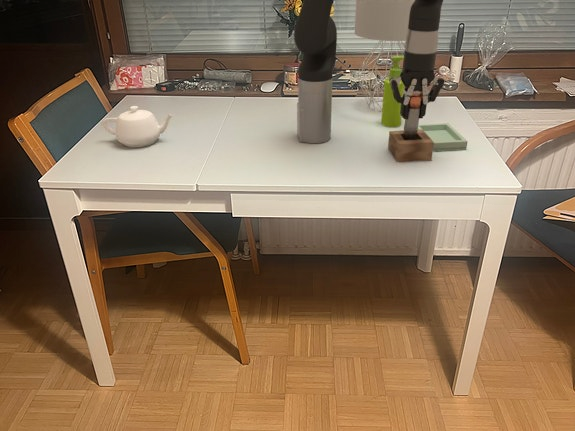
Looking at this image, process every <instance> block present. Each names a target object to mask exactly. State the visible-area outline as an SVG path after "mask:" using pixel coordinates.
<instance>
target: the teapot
mask: <svg viewBox="0 0 575 431" xmlns="http://www.w3.org/2000/svg"><path fill="white" fill-rule="evenodd" d="M129 109H130V110H128V111H124V112H122V113H120V114H119V115H118V116H117V117H108V118H104V119H103V120H102V121H101V126H102V127H103V128H104V130H105V131H107V132H108V133H109V134H111V135H115V138H116V140H117V141H118V142H119V143H121V144H123V145H124V146H126V147H127V148H128V147H129V148H141V147H142V148H143V147H148V146H150V145H152V144H154V143H155V142H156V141H157V140H158V138H159V137H160V135H162V134H163V133H164V132H165V131H166V129H167V128H168V126H169V122H170V119H171V118H172V117H174V114H171V113H169V114H167V115H166V117H165V118H164V122H163V123H162V124H161V125H159V122H158V120H157V118H156V116H155V115H154V114H153V113H152V112H151V111H149V110H147V109H146V110H145V109H139V106H137V105H132V106H130V108H129ZM108 122H109V123H110V122H115V129H113V128H111V127H110V126H109V125H108Z"/></svg>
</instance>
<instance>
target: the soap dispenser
mask: <svg viewBox="0 0 575 431" xmlns="http://www.w3.org/2000/svg"><path fill="white" fill-rule="evenodd" d="M392 60H393V63H392V64H393V65H392V66H390V67H389V72H390V73H389V72H388V73H389V74H388V77H389V78H388V77H387V78H388V79H385V78H384V79H385V80H384V82H383V83H384V84H383V88H384V89H383V94H382V105H381V106H382V107H381V108H382V110H381V111H382V112H381V120H380V123H381V125H382V126H384V127H387V128H396V127H399V126H401V125H402V119H403V117H402V116H401V115H400V109H401V103H398V102H397V101H396V100H395V99H394V96H393V92H392V89H391V86H390V82H389V79H390V78H393V79H394V78H396V77H399V76H400V74H401V72H402V69H403V67H401V66H400V67H399V64H400V61H402V60H404V55H398V56H397V55H392ZM398 89H399V93H400V96H401V97H402V95H403V89H404V84H403V82H402V81H400V86H399V87H398Z"/></svg>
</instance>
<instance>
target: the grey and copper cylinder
mask: <svg viewBox="0 0 575 431" xmlns="http://www.w3.org/2000/svg"><path fill="white" fill-rule="evenodd" d="M421 101H422V95H421V94H420V93H419V92H418V93H417V92H413V93H412V96H411V97H410V99H409V102H408V105H409V106H408V115H407V119H404V124H403V125H404V126H403V130H404V132H403V139H404V140H416V139H417V132H418V125H420V124H419V123H420V118H419V116H420V108H421Z"/></svg>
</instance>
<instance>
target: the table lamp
mask: <svg viewBox="0 0 575 431" xmlns="http://www.w3.org/2000/svg"><path fill="white" fill-rule="evenodd" d="M414 1H415V0H355V19H354V35H355V36H357V37H360V38H363V39H368V40H374V41H378V42H377V43H376V45H375V46H374V47H373V48H372V50H370V52H369V53H368V55H367V56H366V58H365V59H364V60H363V61H362V63H361V66H360V68H359V70H358V73H357V81H358V82H359V86H360V88H361V91H362V94H363V96H364V98H365V101H366V104H367V107H368V108H369V109H370V108H371V104H372V105H373V108H372V109H373V111H375V110H377V112H380V111H382V107H381V106H380V104H379V103H378V102H380V99H379V96H377V100H376V99H375V98H374V97H375V95H376V94H379V92H381V93H382V95H383V93H384V91H382V90H384V87H383V88H380V86H379V84H380V83H381V82H382V81H383V80H384V81H385V79H388V78H389V73H390V71H389V72H388V73H387V70H388V64H389V65H390V67H393V63H392V56H393V42H394V45H395V51H396V56H399V54H398V49H397V44H398V48H399V50H400V53H401V54H402V55H401V56H404V50H405V47H404V46H405V43H404V41H406V35H407V31H408V23H409V14H410V9H411V6H412V4H413V3H414ZM382 41H383V44H382V45H381V43H382ZM387 41H388V44H389V45H388V50H387V51H388V52H387V59H386V60H385V59H384V58H383V57H381V54H382V51H383V49H384V47H385V44H386V42H387ZM396 42H397V44H396ZM380 45H381V46H382V47H381V48H380V50H379V53H378V55H377V57H376V58H374V59H372V61H371V62H369V61H370V59H371V58H372V56H373V54H374V53H375V52H376V51H377V49H378V47H379V46H380ZM390 47H391V50H390ZM390 51H391V52H390ZM390 54H391V55H390ZM389 56H390V62H388V61H389ZM379 58H380V59H382V60H384V62H386V68H385V75H384V76H383V75H382V74H381V73H380V71H379V70H378V63H379V60H380V59H379ZM366 59H367V60H366ZM368 62H369V63H368ZM372 63H374V64H373V66H372V67H370V68H369V69H367V70H366V67H369V65H370V64H372ZM375 65H376V66H375ZM399 67H400V68H401V65H400V63H399ZM371 69H372V70H371ZM374 69H375V71H374ZM369 70H371V73H370V76H368V75H366V74H365V73H367V72H368V71H369ZM402 70H403V68H402ZM360 71H361V72H360ZM373 72H375V73H378V74H379V75H380V76H381V79H380V80H379V81H378V78H377V75H375V80H376V81H374V80H373V79H372V75H373ZM359 76H360V77H359ZM362 76H363V77H362ZM387 76H388V77H387ZM361 78H362V79H361ZM366 78H368V79H369V81H368V83H367V80H366ZM361 80H362V82H361ZM364 81H365V84H366V87H365V86H364ZM371 81H372V82H374V84H376V85H375V88H374V90H373V91H374V92H373V94H372V91H371ZM363 88H364V89H363ZM378 88H379V89H378ZM365 90H366V92H367V93H368V95H367V94H366V92H365ZM368 100H369V102H368ZM377 101H378V102H377ZM371 102H373V103H371ZM370 103H371V104H370ZM374 103H376V105H377V106H378V107H379V108H380V110H378V109H376V108H375V104H374Z"/></svg>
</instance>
